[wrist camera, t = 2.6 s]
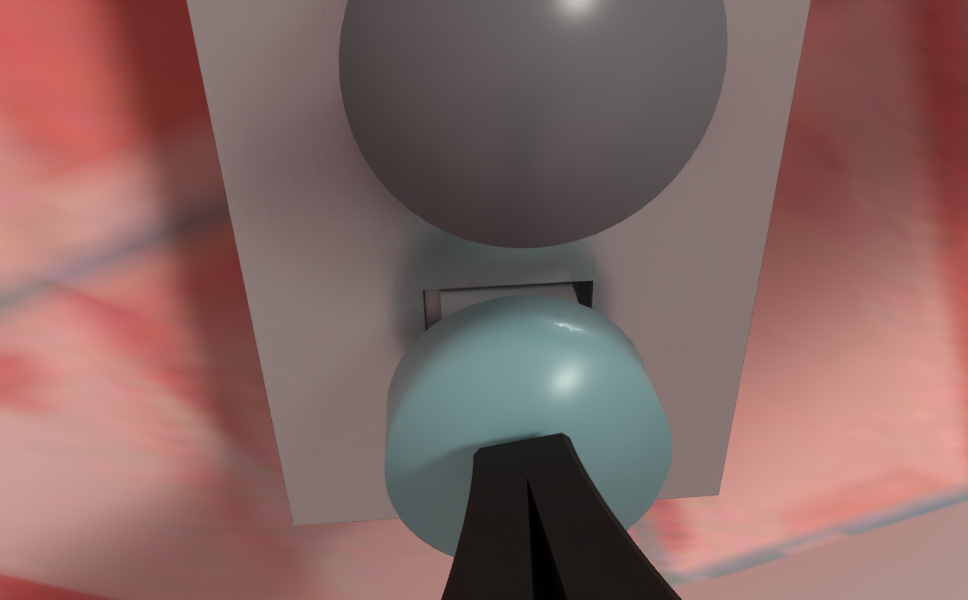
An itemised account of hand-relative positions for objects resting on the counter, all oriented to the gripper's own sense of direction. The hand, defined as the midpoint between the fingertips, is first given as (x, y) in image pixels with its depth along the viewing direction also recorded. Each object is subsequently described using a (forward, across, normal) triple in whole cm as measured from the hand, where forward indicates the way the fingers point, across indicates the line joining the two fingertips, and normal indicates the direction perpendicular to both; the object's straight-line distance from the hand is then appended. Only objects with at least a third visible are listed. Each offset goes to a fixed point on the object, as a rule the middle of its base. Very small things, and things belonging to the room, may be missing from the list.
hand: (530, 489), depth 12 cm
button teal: (+4, 0, 0) cm, 4 cm away
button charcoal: (+4, -1, -6) cm, 7 cm away
